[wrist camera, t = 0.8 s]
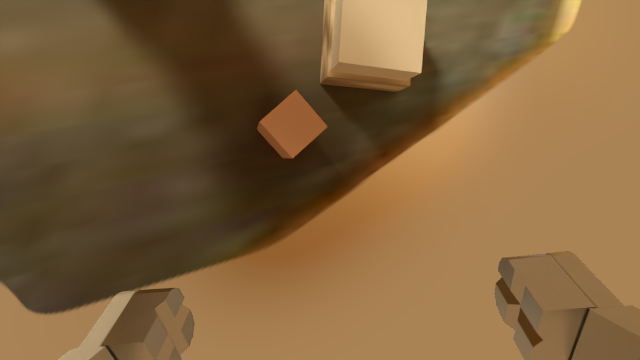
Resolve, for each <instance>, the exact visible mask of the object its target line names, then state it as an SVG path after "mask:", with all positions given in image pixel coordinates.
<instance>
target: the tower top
mask: <svg viewBox="0 0 640 360" xmlns="http://www.w3.org/2000/svg"><path fill="white" fill-rule="evenodd" d="M426 9H427V0H335V4H334V19H333V34H332V49H331V63H330V71H333V72H341V73H349V74H357V75H365V76H372V77H380V78H388V79H396V80H404V81H406V80H408V79H410V78H412V77H414V76H416V75H418V74H420V73H421V70H422V58H423V46H424V33H425V21H426Z"/></svg>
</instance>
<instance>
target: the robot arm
mask: <svg viewBox="0 0 640 360" xmlns="http://www.w3.org/2000/svg"><path fill="white" fill-rule="evenodd" d="M498 271H499V273H500V274H501V276H502V278H501V279H500V280H499V281H498V282H497V283H496V286H495V298H496V305H497V307H498V310H499V313H500V315H501V317H502V319H503V321H504V322H505V323H506V324H507V325H509V326H510V327H512V328H513V329H515V334H514V341H515V343H516V345H517V346H518V348H519V350H520V352H521V354H522V356H523V357H524V359H525V360H640V309H638V308H636V307H634V306H624V305H623V304H622V303H621V302H620V301H619V300H618V299H617V298H616V297H615V296H614V295H613V293H612V292H611V291H610V290H609V289H608V288H607V287H606V286H605V285H604V284H603V283H602V282H601V281H600V280H599V279H598V278H597V277H596V276H595V275H594V274H593V273H592V272H591V271H590V270H589V268H588V267H587V266H586V265H585V264H584V263H583V262H582V261H581V260H580V259H579V258H578V257H577V256H576V255H575V254H574V253H571V252H569V251H566V252H556V253H547V254H536V255H527V256H517V257H507V258H502V259H501V261H500V262H499V267H498ZM183 299H184V296H183V294H182V292H181V291H180V289H178V288H167V289H150V290H139V291H124V292H120V293H118V294H117V295H115V296H114V298H113V299H112V301H111V302H110V303H109V305H108V306H107V308H106V309H105V311H104V312H103V313H102V315H101V316H100V318H99V319H98V321H97V322H96V323H95V325H94V326H93V328H92V329H91V331H90V332H89V333H88V335H87V336H86V338H85V339H84V341H83V342H82V344H81V345H80V346H79V348H77V349H71V350H70V351H69V352H67V353H66V354H65V355H63V356H62V357H60V358H59V359H58V360H181V356H180V355H181V354H182V353H183V352H184V351H185V350H186V349H187V348H188V347H189V346H190V343H191V340H192V337H193V331H194V320H193V315H192V313H191V311H190V309H189V308H187V307H185V306H184V305H182V302H183Z"/></svg>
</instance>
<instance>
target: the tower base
mask: <svg viewBox="0 0 640 360" xmlns="http://www.w3.org/2000/svg"><path fill="white" fill-rule="evenodd" d="M334 4H335V0H325V3H324V21H323V39H322V57H321V75H320V84H326V85H336V86H345V87H354V88H364V89H373V90H383V91H392V92H397V91H400V90H402V89H404V88H406V87H409V86H410V83H411V78H410V79H408V80H406V81H404V80H396V79H388V78H380V77H372V76H365V75H357V74H349V73H341V72H333V71H330V63H331V49H332V34H333V19H334Z"/></svg>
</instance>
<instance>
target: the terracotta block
mask: <svg viewBox="0 0 640 360" xmlns="http://www.w3.org/2000/svg"><path fill="white" fill-rule="evenodd" d="M326 128H327V125H326V124H325V123H324V122H323V121H322V119H321V118H320V117H319V116H318V115H317V114H316V112H315V111H314V110H313V109H312V108H311V107H310V105H309V104H308V103H307V102H306V101H305V99H304V98H303V97H302V96H301V95H300V94H299V92H298V91H297V90H295V91H294V92H293V93H291V94H290V95H289V96H288V97H287V98H286V99H285V100H284V101H282V102H281V103H280V104H279V105H278V106H277V107H276V108H274V109H273V110H272V111H271V112H270V113H269V114H268V115H266V116H265V117H264V118H263V119H262V120H261V121H260V122H259V125H258V127H257V130H258V131H259V133H260V134H261V135H262V136H263V137H264V138H265V139H266V140H267V141H268V142H269V144H270V145H271V146H272V147H273V148H274V149H275V150H276V151H277V152H278V154H279V155H280V156H281V157H282V158H292V159H293V158H294V157H295V156H296V155H297V154H298V153H299V152H300V151H302V150H303V149H304V148H305V147H306V146H307V145H308V144H309V143H310V142H311V141H313V140H314V139H315V138H316V137H317V136H318V135H319V134H320V133H321V132H322V131H323V130H325V129H326Z"/></svg>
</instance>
